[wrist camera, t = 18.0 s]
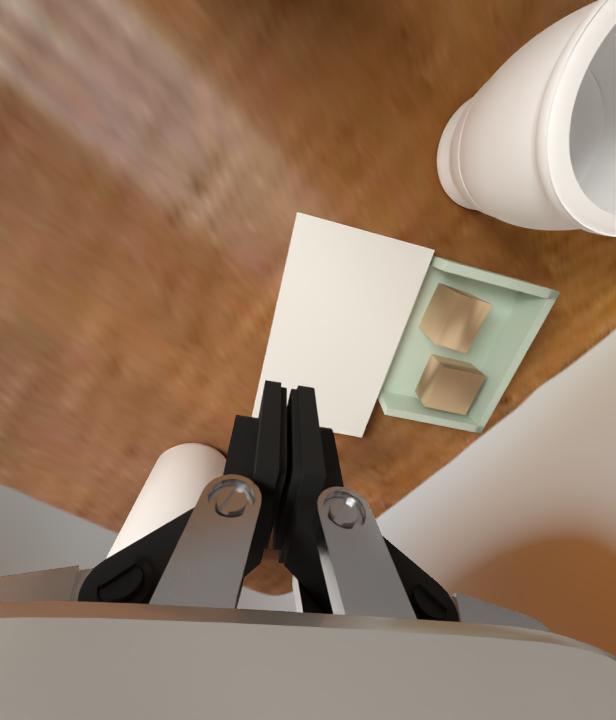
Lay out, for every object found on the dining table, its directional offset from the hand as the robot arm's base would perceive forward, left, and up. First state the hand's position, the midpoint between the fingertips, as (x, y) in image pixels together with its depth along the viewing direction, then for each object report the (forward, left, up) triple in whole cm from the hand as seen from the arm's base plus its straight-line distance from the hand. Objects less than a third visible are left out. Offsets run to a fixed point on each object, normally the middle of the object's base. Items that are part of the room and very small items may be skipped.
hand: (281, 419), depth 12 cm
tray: (+2, +17, -22) cm, 28 cm away
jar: (-14, +13, -22) cm, 29 cm away
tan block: (+6, +18, -18) cm, 26 cm away
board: (+4, +5, -22) cm, 23 cm away
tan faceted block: (-1, +13, -19) cm, 23 cm away
